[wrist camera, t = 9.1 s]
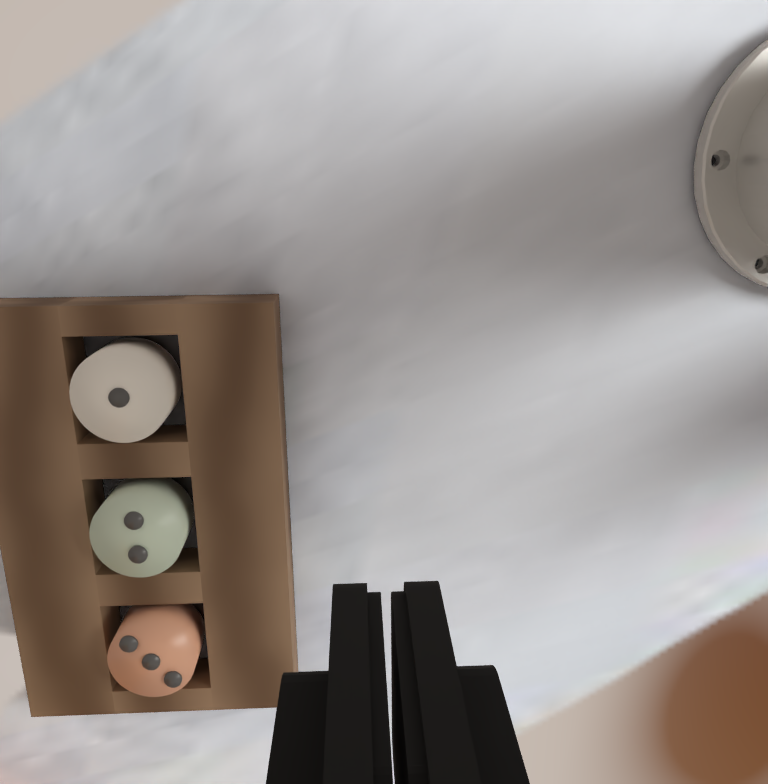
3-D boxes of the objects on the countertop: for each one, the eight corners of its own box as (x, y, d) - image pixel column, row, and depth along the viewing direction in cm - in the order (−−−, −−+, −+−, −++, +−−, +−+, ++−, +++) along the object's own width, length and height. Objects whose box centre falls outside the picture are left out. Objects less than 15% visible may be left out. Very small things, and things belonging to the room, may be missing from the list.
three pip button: (202, 592, 38) (190, 623, 35) (208, 662, 39) (198, 697, 36) (118, 595, 38) (101, 626, 35) (127, 665, 39) (111, 700, 36)
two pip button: (190, 471, 36) (178, 494, 33) (197, 549, 37) (186, 577, 34) (102, 474, 36) (82, 497, 33) (112, 551, 37) (94, 580, 34)
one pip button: (177, 336, 34) (163, 349, 31) (186, 423, 35) (172, 443, 32) (84, 337, 34) (61, 351, 31) (95, 425, 35) (75, 445, 32)
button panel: (278, 294, 34) (273, 302, 32) (298, 675, 41) (295, 706, 38) (-17, 298, 34) (-44, 307, 31) (50, 684, 40) (31, 716, 38)
